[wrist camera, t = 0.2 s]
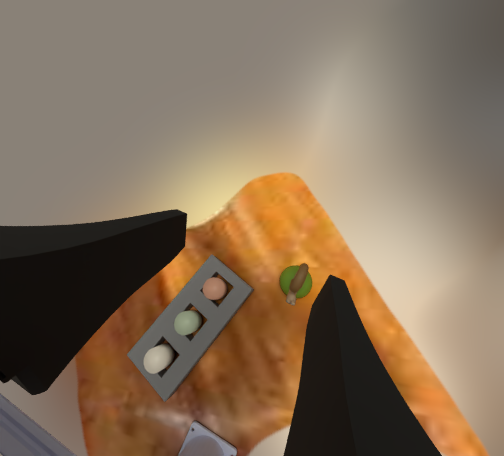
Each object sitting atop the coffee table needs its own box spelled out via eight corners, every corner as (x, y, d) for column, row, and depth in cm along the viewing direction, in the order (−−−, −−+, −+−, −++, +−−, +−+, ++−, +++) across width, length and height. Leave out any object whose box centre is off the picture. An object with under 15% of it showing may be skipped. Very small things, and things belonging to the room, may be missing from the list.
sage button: (192, 337, 36) (184, 340, 33) (178, 322, 37) (169, 324, 35) (205, 319, 37) (199, 321, 34) (191, 305, 38) (184, 306, 35)
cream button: (163, 372, 35) (153, 379, 32) (150, 356, 36) (139, 361, 33) (178, 354, 36) (169, 359, 33) (164, 338, 37) (155, 342, 34)
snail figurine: (272, 295, 39) (270, 294, 27) (286, 263, 40) (289, 249, 29) (301, 308, 37) (310, 314, 26) (314, 275, 39) (328, 266, 27)
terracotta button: (218, 303, 37) (213, 304, 35) (204, 290, 39) (198, 290, 36) (231, 287, 38) (227, 286, 35) (217, 274, 39) (212, 273, 36)
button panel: (172, 394, 36) (164, 401, 33) (136, 351, 38) (126, 354, 36) (254, 289, 39) (252, 289, 37) (215, 256, 42) (211, 254, 40)
